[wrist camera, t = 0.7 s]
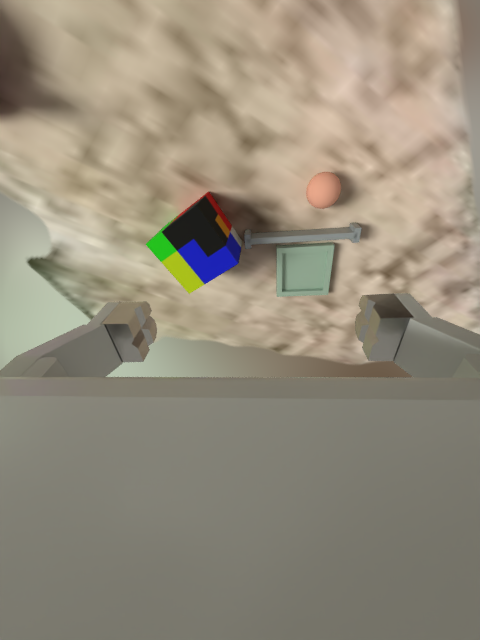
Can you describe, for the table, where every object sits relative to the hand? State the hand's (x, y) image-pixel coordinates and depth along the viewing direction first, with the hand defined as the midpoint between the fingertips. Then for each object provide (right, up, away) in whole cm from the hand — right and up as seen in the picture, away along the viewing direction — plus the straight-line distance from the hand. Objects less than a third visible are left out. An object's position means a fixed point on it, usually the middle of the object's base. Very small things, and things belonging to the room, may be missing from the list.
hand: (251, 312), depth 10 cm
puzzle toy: (-7, +16, +37) cm, 41 cm away
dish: (+12, +9, +39) cm, 42 cm away
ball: (+12, +19, +29) cm, 37 cm away
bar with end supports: (+10, +15, +35) cm, 40 cm away
